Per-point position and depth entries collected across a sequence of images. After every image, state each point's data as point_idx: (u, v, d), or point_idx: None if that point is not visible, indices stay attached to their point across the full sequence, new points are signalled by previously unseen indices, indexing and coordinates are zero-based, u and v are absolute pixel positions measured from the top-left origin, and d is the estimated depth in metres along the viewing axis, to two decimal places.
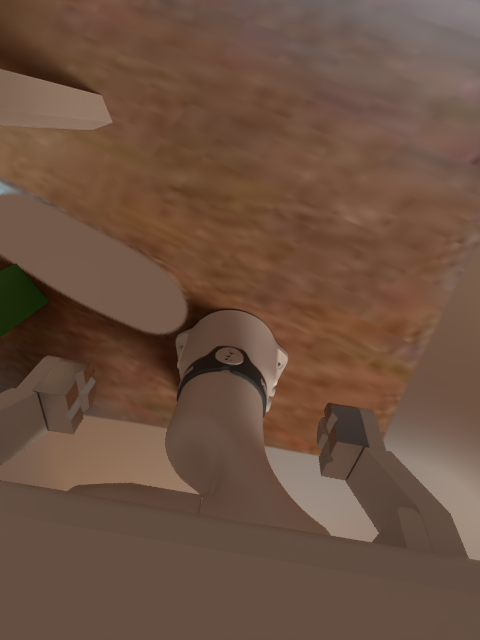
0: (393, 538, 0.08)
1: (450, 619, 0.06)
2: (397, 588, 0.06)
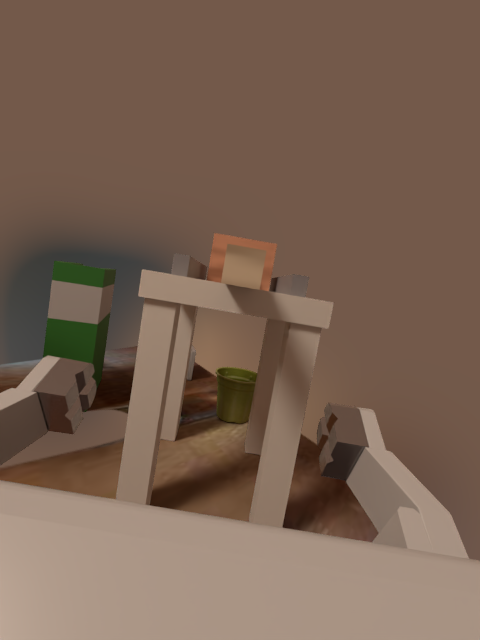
0: (392, 537, 0.08)
1: (450, 619, 0.06)
2: (397, 588, 0.06)
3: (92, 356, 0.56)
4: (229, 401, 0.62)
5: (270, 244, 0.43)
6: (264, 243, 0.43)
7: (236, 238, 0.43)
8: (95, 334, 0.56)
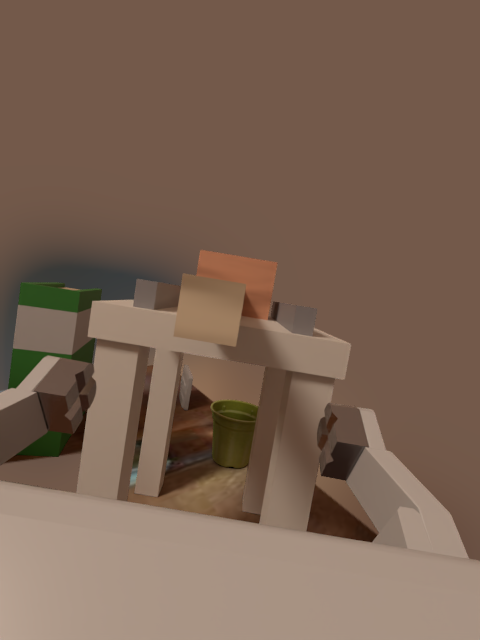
0: (393, 538, 0.08)
1: (450, 619, 0.06)
2: (397, 588, 0.06)
3: None
4: (226, 442, 0.53)
5: (269, 262, 0.35)
6: (262, 261, 0.35)
7: (227, 256, 0.35)
8: None
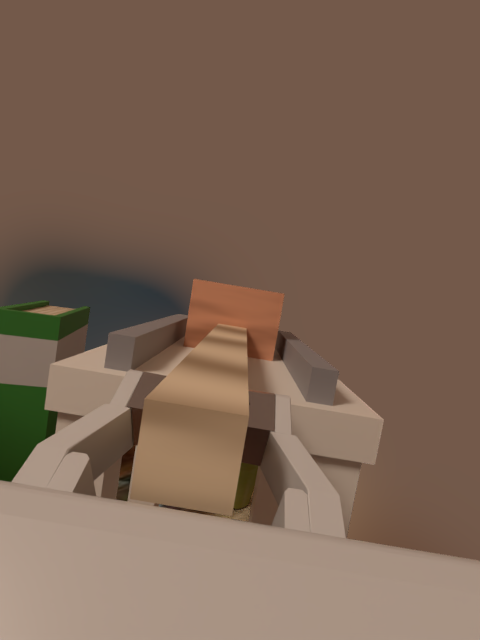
0: (280, 518, 0.08)
1: (450, 619, 0.06)
2: (397, 588, 0.06)
3: (45, 429, 0.43)
4: None
5: (274, 294, 0.30)
6: (266, 293, 0.30)
7: (225, 286, 0.30)
8: None
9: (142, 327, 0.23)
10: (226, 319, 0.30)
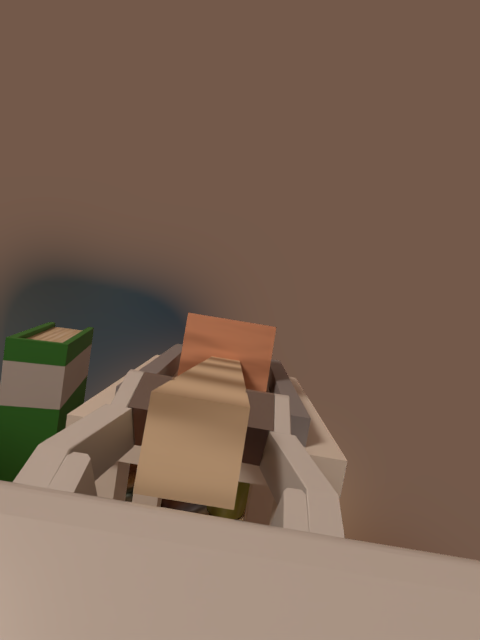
0: (278, 519, 0.08)
1: (450, 619, 0.06)
2: (397, 588, 0.06)
3: None
4: None
5: (267, 327, 0.31)
6: (258, 326, 0.31)
7: (219, 319, 0.31)
8: (56, 421, 0.47)
9: None
10: (219, 352, 0.30)
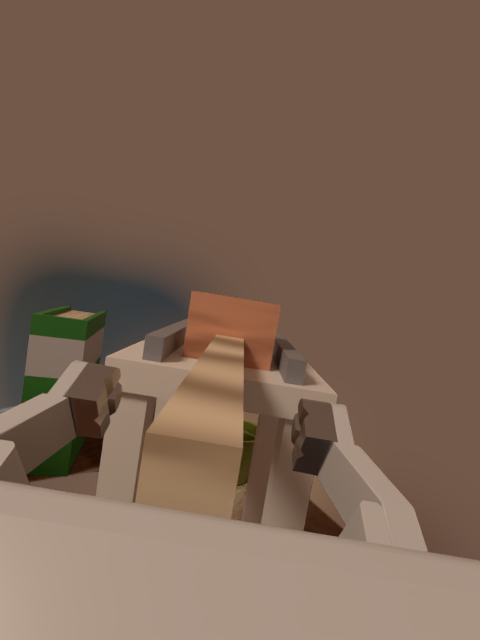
0: (355, 531, 0.08)
1: (450, 619, 0.06)
2: (397, 588, 0.06)
3: None
4: None
5: (271, 305, 0.30)
6: (263, 304, 0.30)
7: (223, 298, 0.30)
8: None
9: (165, 330, 0.31)
10: (224, 331, 0.31)
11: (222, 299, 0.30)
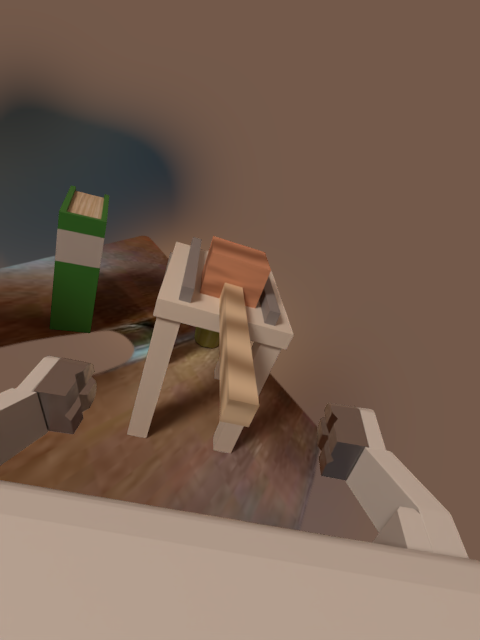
0: (393, 538, 0.08)
1: (450, 619, 0.06)
2: (397, 588, 0.06)
3: (95, 293, 0.66)
4: (206, 333, 0.77)
5: (264, 269, 0.45)
6: (259, 268, 0.45)
7: (233, 260, 0.44)
8: (97, 276, 0.65)
9: (189, 273, 0.45)
10: (230, 280, 0.45)
11: (232, 260, 0.44)
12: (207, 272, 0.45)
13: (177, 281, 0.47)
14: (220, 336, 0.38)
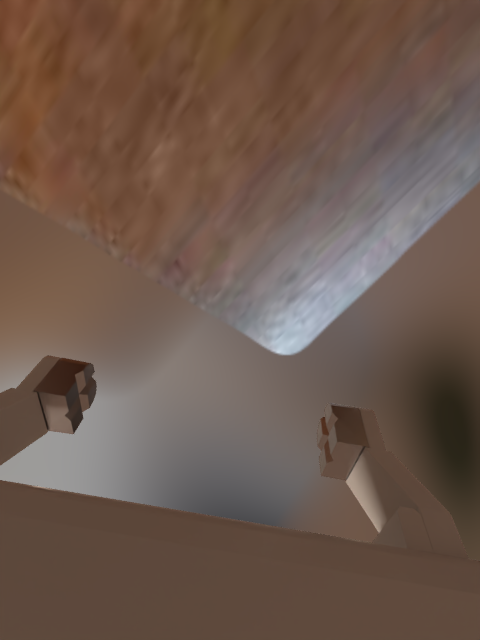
0: (393, 538, 0.08)
1: (450, 619, 0.06)
2: (397, 588, 0.06)
3: None
4: None
5: None
6: None
7: None
8: None
9: None
10: None
11: None
12: None
13: None
14: None
